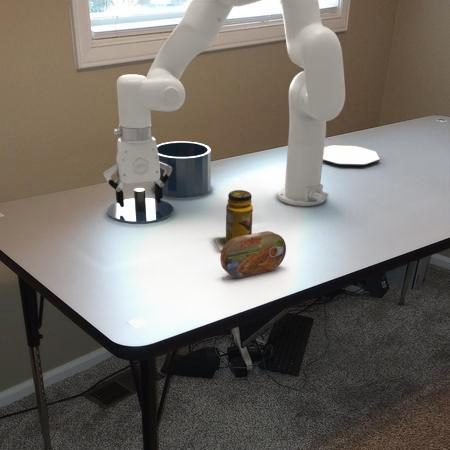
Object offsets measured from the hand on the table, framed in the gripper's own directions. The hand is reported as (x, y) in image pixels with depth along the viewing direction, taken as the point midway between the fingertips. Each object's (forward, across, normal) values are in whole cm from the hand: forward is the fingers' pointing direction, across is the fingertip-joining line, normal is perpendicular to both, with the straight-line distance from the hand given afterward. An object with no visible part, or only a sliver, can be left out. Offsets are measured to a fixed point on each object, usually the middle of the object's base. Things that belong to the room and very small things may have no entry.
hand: (139, 203), depth 165 cm
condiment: (+3, +16, -26) cm, 30 cm away
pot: (+3, +16, +14) cm, 21 cm away
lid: (+2, 0, 0) cm, 2 cm away
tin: (+3, +14, -41) cm, 43 cm away
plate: (+3, +75, +26) cm, 79 cm away
